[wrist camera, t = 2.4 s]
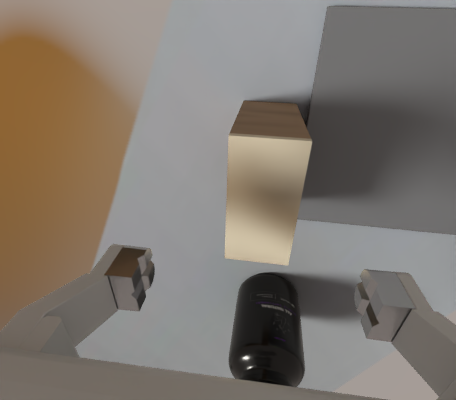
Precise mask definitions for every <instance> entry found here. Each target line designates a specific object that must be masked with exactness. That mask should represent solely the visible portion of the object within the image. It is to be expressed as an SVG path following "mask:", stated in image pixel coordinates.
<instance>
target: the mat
mask: <svg viewBox="0 0 456 400" xmlns="http://www.w3.org/2000/svg"><path fill="white" fill-rule="evenodd" d="M306 128H307V130H308V132H309V135H310V137H311V139H312V146H311V151H310V156H309V161H308V166H307V171H306V176H305V181H304V187H303V192H302V197H301V202H300V207H299V212H298V217H297V219H300V220H310V221H321V222H331V223H341V224H351V225H361V226H371V227H381V228H391V229H401V230H412V231H422V232H432V233H442V234H452V235H456V9H435V8H391V7H348V6H328V7H327V12H326V17H325V23H324V29H323V34H322V40H321V45H320V51H319V57H318V62H317V68H316V73H315V79H314V84H313V90H312V96H311V101H310V107H309V112H308V118H307V124H306Z"/></svg>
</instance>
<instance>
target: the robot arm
mask: <svg viewBox="0 0 456 400" xmlns="http://www.w3.org/2000/svg"><path fill="white" fill-rule="evenodd" d="M151 258H152V251H151V249H150V248H143V247H135V246H127V245H117V244H113V245H111V246H110V247H109V248H108V250H107V251H106V252H105V254H104V255H103V256H102V258H101V259H100V260H99V262H98V263H97V265H96V266H95V267H94V269H93V270H92V271H91V273H90V274H84V275H82V276H81V277H79V278H77V279H75V280H73V281H72V282H70V283H68V284H66V285H64V286H63V287H61V288H59V289H57V290H55V291H54V292H52V293H50V294H48V295H46V296H45V297H43V298H41V299H39V300H37V301H36V302H34V303H32V304H30V305H28V306H26V307H25V308H23V309H21V310H19V311H18V312H17V314H16V315H15V316H14V317H13V318H12V319H11V320H10V322H9V323H8V324H7V325H6V326H5V327H4V328H3V329H2V330H1V332H0V400H386V399H379V398H371V397H364V396H357V395H349V394H342V393H335V392H328V391H320V390H313V389H306V388H298V387H291V386H284V385H277V384H269V383H262V382H255V381H247V380H240V379H233V378H225V377H218V376H211V375H203V374H196V373H189V372H181V371H174V370H167V369H159V368H152V367H145V366H138V365H130V364H123V363H116V362H109V361H101V360H94V359H87V358H80V357H79V355H78V352H77V350H76V348H75V346H77V345H78V344H79V343H80V342H81V341H83V340H84V339H85V338H86V337H87V336H88V335H90V334H91V333H92V332H93V331H94V330H95V329H97V328H98V327H99V326H100V325H101V324H102V323H104V322H105V321H106V320H107V319H108V318H110V317H111V316H112V315H113V314H114V313H115V312H117V311H118V310H117V309H119V310H130V311H140V309H141V306H142V304H143V302H144V300H145V298H146V294H145V291H146V290H147V289H149V288H150V287H151V284H152V282H153V278H154V270H155V268H154V264H153V263H152V262H151ZM360 278H361V280H362V282H361V283H359V284H357V286H356V289H355V292H354V301H355V306H356V309H357V311H358V312H359V313H360V314H361V315H362V316H363V317H362V319H361V324H362V327H363V330H364V333H365V335H366V338H367V339H373V340H380V341H387V342H392V344H393V346H394V347H395V348H396V349H397V350H398V351H399V352H400V353H401V354H402V356H403V357H404V358H405V359H406V360H407V361H408V362H409V363H410V364H411V366H412V367H413V368H414V369H415V370H416V371H417V372H418V374H419V375H420V376H421V377H422V378H423V379H424V380H425V381H426V382H427V384H428V385H429V386H430V387H431V388H432V389H433V390H434V391H435V393H436V394H437V395H438V396H439V398H438V399H437V400H456V325H455V324H454V323H452V322H451V321H450V320H448V319H447V318H446V317H444V316H443V315H442V314H440V313H439V312H434V311H433V310H432V308H431V306H430V305H429V303H428V302H427V300H426V298H425V297H424V295H423V294H422V292H421V290H420V289H419V287H418V285H417V284H416V282H415V281H414V279H413V277H412V276H411V275H410V274H409V273H401V272H389V271H378V270H367V269H364V270H363V271H362V273H361V276H360Z"/></svg>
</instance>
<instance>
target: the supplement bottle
mask: <svg viewBox="0 0 456 400" xmlns="http://www.w3.org/2000/svg"><path fill="white" fill-rule="evenodd" d="M229 367H230V370H231V373H232V375H233V376H234V378H235V379H240V380H247V381H255V382H262V383H269V384H277V385H284V386H291V387H297V386H298V385H299V384H300V382H301V381H302V379H303V376H304V372H305V363H304V352H303V341H302V330H301V319H300V308H299V299H298V294H297V291H296V289H295V288H294V286H293V285H292V284H291V283H290V282H289V281H287V280H286V279H284V278H282V277H279V276H276V275H271V274H260V275H255V276H253V277H250V278H249V279H247V280H246V281H245V282H243V284H242V285H241V287H240V289H239V292H238V298H237V304H236V311H235V318H234V325H233V331H232V338H231V345H230V352H229Z"/></svg>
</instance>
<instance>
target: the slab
mask: <svg viewBox="0 0 456 400" xmlns="http://www.w3.org/2000/svg"><path fill="white" fill-rule="evenodd" d="M311 146H312V139H311V137H310V135H309V132H308V130H307V128H306V125H305V123H304V121H303V118H302V116H301V114H300V111H299V109H298V106H297V104H292V103H275V102H258V101H243V104H242V106H241V108H240V111H239V113H238V115H237V118H236V120H235V122H234V124H233V127H232V129H231V131H230V134H229V143H228V173H227V204H226V234H225V258H228V259H236V260H245V261H254V262H262V263H271V264H280V265H288V263H289V258H290V253H291V248H292V243H293V237H294V232H295V227H296V222H297V217H298V212H299V207H300V202H301V197H302V192H303V187H304V181H305V176H306V171H307V166H308V161H309V156H310V151H311Z"/></svg>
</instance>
